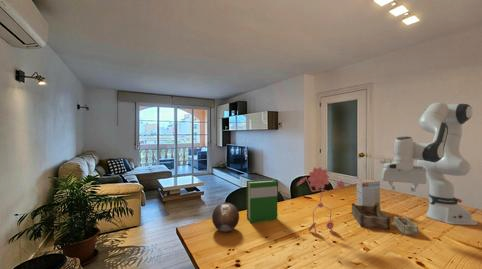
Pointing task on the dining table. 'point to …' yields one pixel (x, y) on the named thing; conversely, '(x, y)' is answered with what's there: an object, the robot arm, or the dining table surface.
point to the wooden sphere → (225, 217)
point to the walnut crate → (370, 217)
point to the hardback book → (261, 200)
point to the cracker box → (368, 193)
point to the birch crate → (406, 226)
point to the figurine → (319, 180)
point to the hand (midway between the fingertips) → (402, 190)
